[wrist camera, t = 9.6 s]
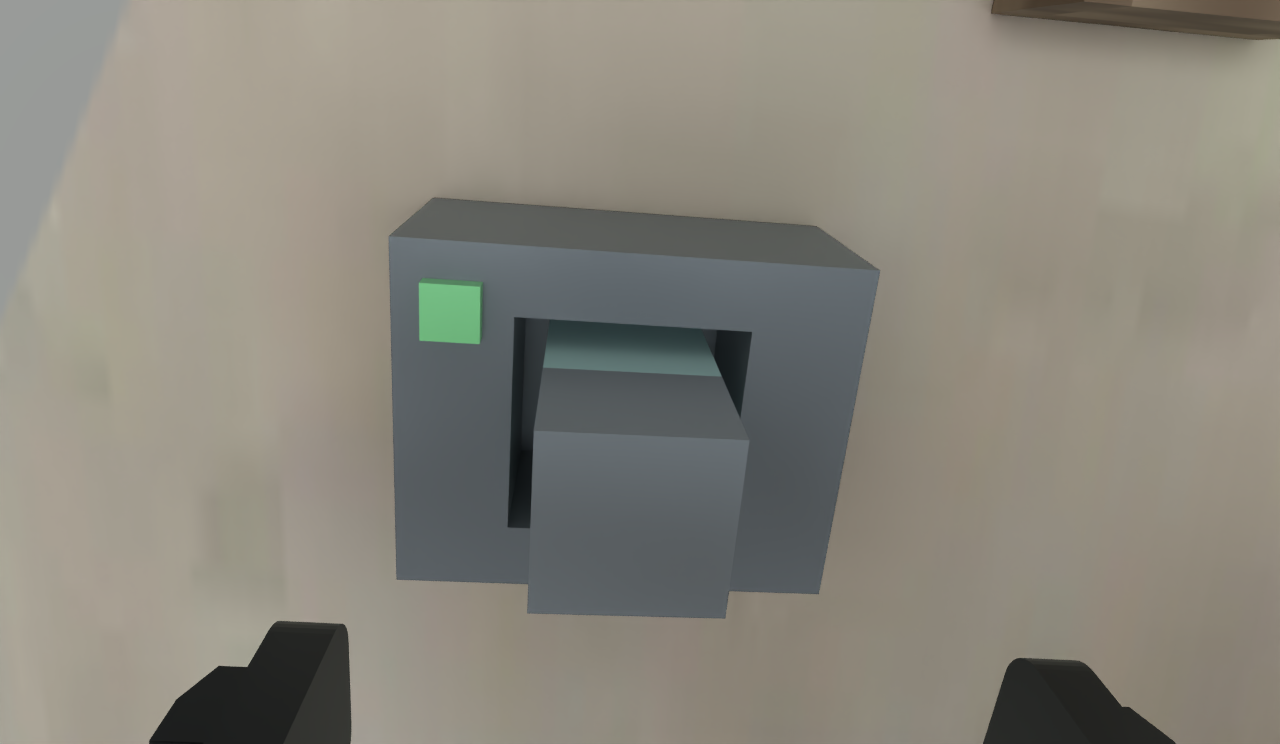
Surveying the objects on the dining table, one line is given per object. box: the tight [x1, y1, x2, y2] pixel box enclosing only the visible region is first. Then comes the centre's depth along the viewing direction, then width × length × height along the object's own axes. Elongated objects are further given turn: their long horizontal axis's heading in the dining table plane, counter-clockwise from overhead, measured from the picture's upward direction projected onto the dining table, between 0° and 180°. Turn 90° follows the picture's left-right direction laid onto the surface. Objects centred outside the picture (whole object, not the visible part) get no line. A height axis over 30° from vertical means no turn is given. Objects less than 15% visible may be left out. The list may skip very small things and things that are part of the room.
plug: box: [527, 319, 750, 618], centre depth 18 cm, size 4×4×8 cm
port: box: [389, 198, 880, 594], centre depth 20 cm, size 10×8×5 cm
